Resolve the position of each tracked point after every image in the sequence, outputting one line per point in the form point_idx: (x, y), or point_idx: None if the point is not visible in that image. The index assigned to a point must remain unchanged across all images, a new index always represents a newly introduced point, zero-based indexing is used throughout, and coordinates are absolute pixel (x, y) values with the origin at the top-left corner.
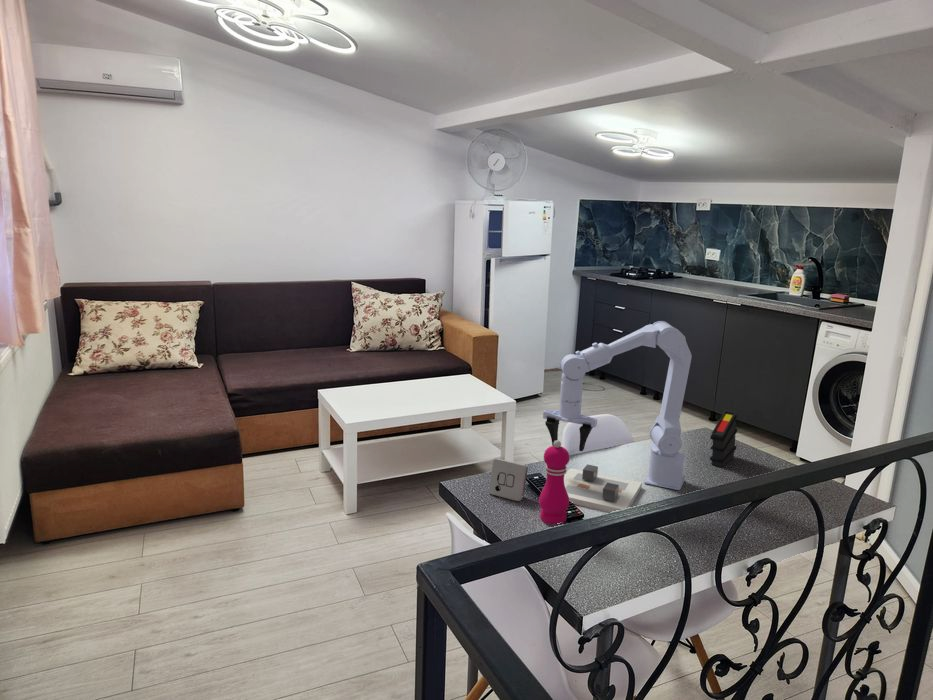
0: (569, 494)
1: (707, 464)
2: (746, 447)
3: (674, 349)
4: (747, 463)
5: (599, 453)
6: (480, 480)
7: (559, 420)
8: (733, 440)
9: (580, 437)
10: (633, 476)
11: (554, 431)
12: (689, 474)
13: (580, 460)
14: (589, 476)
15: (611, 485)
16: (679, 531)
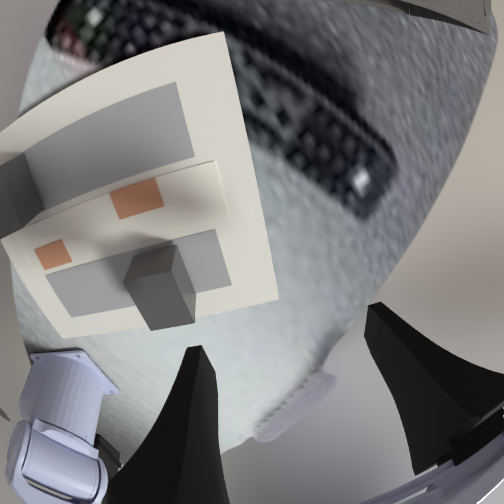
0: (134, 84)
1: (104, 434)
2: (124, 464)
3: None
4: None
5: (269, 402)
6: (469, 62)
7: (411, 459)
8: None
9: (184, 431)
10: (128, 366)
11: (420, 381)
12: None
13: (290, 361)
14: (145, 262)
15: (1, 216)
16: None
